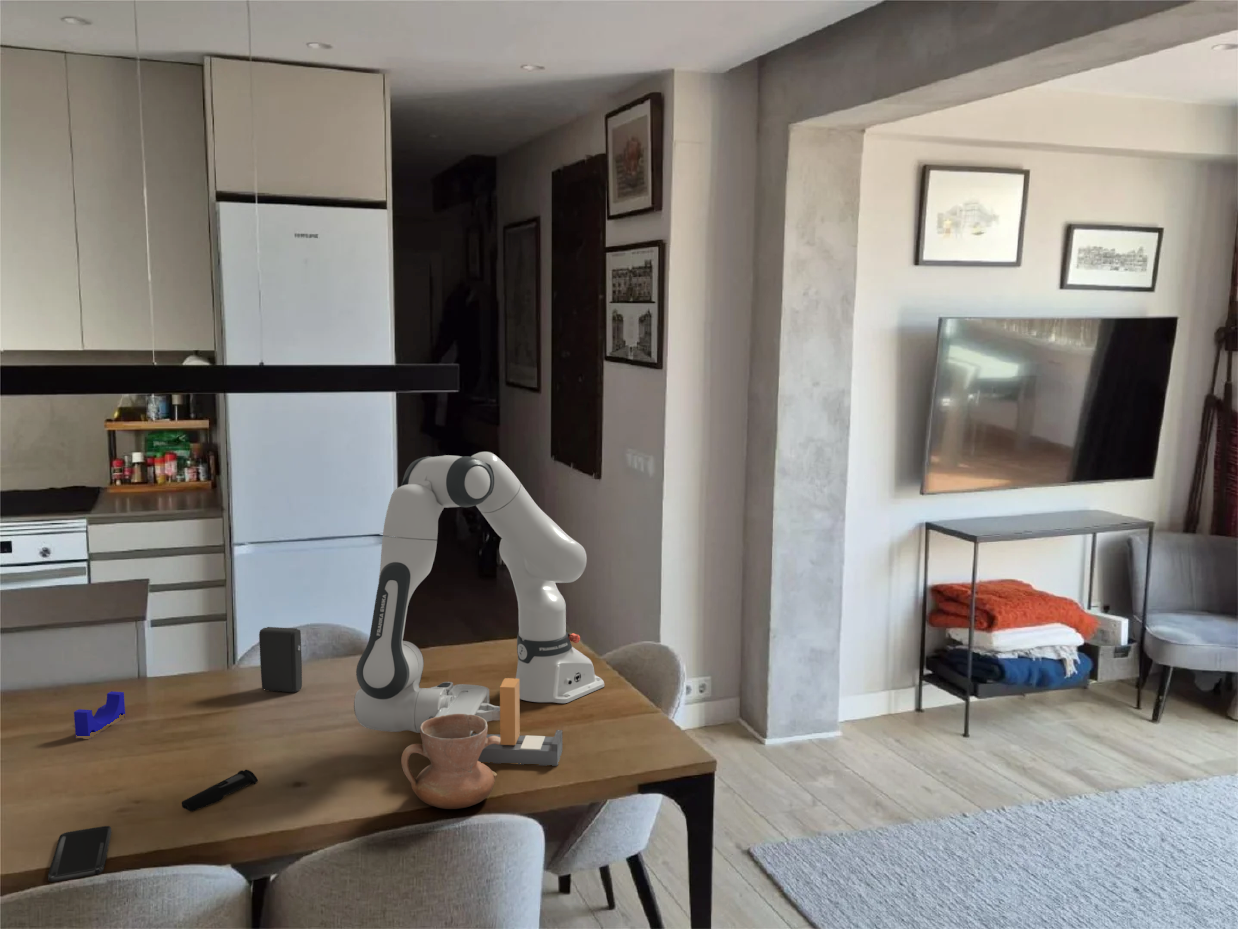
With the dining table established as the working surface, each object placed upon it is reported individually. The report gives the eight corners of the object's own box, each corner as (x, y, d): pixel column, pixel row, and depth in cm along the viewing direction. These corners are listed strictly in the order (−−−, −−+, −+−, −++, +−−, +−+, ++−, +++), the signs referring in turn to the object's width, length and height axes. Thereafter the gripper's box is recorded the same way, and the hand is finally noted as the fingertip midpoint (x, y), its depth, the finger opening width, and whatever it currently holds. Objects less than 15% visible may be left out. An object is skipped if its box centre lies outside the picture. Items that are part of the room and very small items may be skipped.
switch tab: (500, 744, 201) (499, 687, 199) (505, 734, 206) (504, 678, 204) (515, 745, 201) (514, 687, 199) (519, 735, 206) (519, 678, 204)
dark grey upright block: (304, 688, 241) (302, 627, 238) (297, 694, 237) (294, 632, 235) (268, 685, 242) (266, 625, 240) (260, 691, 238) (258, 630, 236)
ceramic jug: (496, 777, 194) (495, 706, 192) (505, 812, 181) (505, 736, 179) (401, 786, 190) (399, 714, 188) (403, 823, 176) (401, 745, 174)
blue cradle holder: (106, 717, 223) (105, 691, 222) (125, 718, 222) (123, 692, 221) (69, 738, 211) (67, 711, 210) (88, 740, 210) (86, 712, 209)
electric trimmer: (176, 814, 180) (175, 798, 179) (245, 779, 193) (245, 764, 193) (190, 820, 178) (189, 803, 177) (259, 784, 191) (259, 768, 191)
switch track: (458, 761, 201) (457, 740, 200) (466, 747, 208) (466, 726, 207) (557, 766, 199) (557, 744, 199) (562, 751, 206) (562, 730, 206)
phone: (46, 878, 157) (60, 833, 170) (47, 885, 157) (61, 839, 171) (103, 868, 159) (112, 824, 173) (103, 875, 160) (112, 830, 173)
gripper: (420, 715, 193) (491, 718, 192) (447, 678, 213) (511, 680, 212) (421, 747, 194) (491, 750, 193) (447, 707, 214) (512, 709, 213)
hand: (502, 713), depth 203 cm, fingers closed, pressing on switch tab
